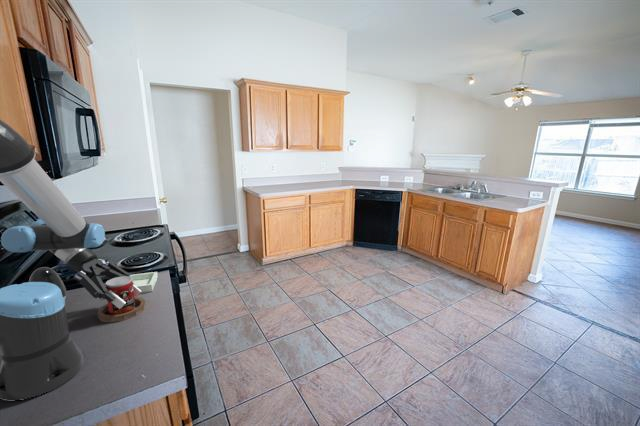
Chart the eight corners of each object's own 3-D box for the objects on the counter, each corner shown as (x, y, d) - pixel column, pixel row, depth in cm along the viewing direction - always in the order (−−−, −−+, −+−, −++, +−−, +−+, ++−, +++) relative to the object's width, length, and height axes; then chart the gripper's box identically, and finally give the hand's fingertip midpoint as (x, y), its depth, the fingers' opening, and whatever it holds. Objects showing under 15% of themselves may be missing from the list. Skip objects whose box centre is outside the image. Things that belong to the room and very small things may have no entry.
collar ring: (140, 317, 94) (140, 312, 94) (92, 325, 89) (91, 320, 89) (148, 299, 106) (148, 294, 106) (106, 305, 101) (105, 300, 101)
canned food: (113, 318, 92) (109, 287, 90) (105, 310, 97) (101, 281, 95) (139, 308, 98) (136, 280, 96) (130, 301, 103) (127, 274, 101)
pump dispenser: (39, 317, 93) (31, 275, 90) (22, 311, 96) (13, 270, 93) (75, 303, 102) (68, 264, 99) (58, 298, 106) (51, 260, 103)
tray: (152, 291, 112) (151, 284, 111) (110, 297, 107) (109, 290, 106) (157, 277, 125) (157, 271, 124) (120, 282, 119) (120, 276, 119)
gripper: (94, 253, 104) (142, 292, 107) (41, 275, 83) (102, 323, 87) (106, 239, 103) (154, 280, 107) (56, 258, 83) (117, 308, 86)
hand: (131, 299), depth 97 cm, fingers closed on canned food, 8 cm apart
